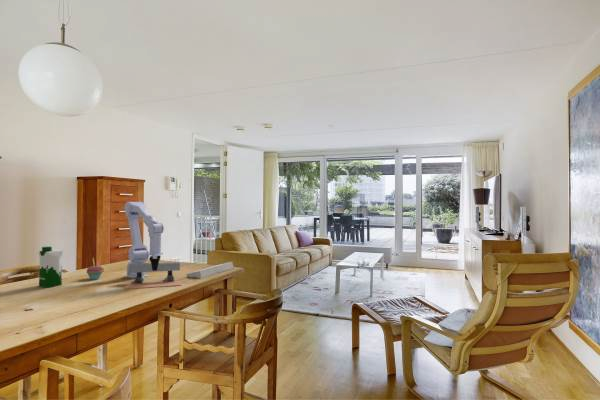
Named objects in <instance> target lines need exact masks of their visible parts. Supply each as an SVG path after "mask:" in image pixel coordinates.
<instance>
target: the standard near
mask: <svg viewBox="0 0 600 400" xmlns="http://www.w3.org/2000/svg"><path fill="white" fill-rule="evenodd" d="M144 280H145V279H144V278H142V272H137V277H135V278H134V281H133V284H141V283H144Z"/></svg>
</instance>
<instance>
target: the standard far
mask: <svg viewBox="0 0 600 400" xmlns="http://www.w3.org/2000/svg"><path fill="white" fill-rule="evenodd" d="M174 281H175V277H174V275H173V271H167V276H166V277H165V282H174Z"/></svg>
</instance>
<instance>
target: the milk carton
mask: <svg viewBox="0 0 600 400" xmlns="http://www.w3.org/2000/svg"><path fill="white" fill-rule="evenodd" d="M63 254H64V250H61V249H55V248H54V249H53V248H52V246H41V250H38V257H39V273H38V274H39V278H38V280H39V281H38V286H39V287H42V288H45V289H47V288H53V287H58V286H62V285H63V284H62V282H63V281H62V278H63V276H62V273H63V271H62V268H63Z"/></svg>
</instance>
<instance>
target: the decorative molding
mask: <svg viewBox="0 0 600 400" xmlns="http://www.w3.org/2000/svg"><path fill="white" fill-rule="evenodd" d="M233 269H234V264H233V261H228V262H225V263H220V264H217V265H213V266H210V267H206V268H203V269H199V270H196V271H192V272H189V273H186V277H187V278H196V279H200V278H202V279H204V278H208V277H210V275H211V276H213V275H217V274H220V273H223V272H226V271H229V270H230V271H231V270H233ZM207 276H208V277H207Z"/></svg>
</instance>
